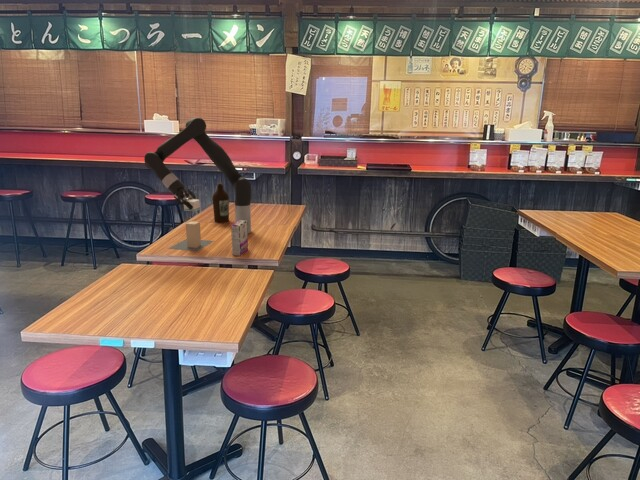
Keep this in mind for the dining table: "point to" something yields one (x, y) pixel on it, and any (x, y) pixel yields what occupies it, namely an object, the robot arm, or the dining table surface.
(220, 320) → the dining table surface
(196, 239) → the kraft carton
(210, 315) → the dining table surface
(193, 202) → the carton lid
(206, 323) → the dining table surface
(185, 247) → the packing mat
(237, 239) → the candy bar box
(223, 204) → the olive oil
